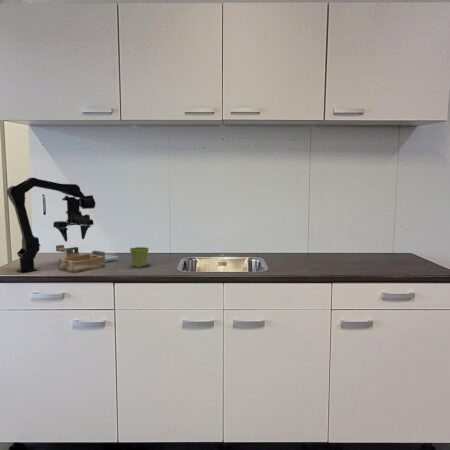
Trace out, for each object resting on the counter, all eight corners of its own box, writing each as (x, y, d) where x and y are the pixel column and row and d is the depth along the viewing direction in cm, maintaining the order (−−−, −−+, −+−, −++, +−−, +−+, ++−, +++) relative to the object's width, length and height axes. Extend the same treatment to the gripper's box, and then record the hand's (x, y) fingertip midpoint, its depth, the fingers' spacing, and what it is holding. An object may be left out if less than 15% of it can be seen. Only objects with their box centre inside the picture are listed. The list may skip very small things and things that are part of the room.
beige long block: (56, 251, 186) (55, 245, 186) (61, 250, 189) (61, 244, 189) (68, 253, 180) (67, 247, 180) (73, 252, 182) (73, 247, 182)
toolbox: (56, 268, 175) (55, 249, 174) (86, 262, 188) (85, 245, 187) (74, 273, 166) (73, 253, 165) (105, 266, 179) (104, 248, 178)
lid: (97, 265, 184) (96, 255, 184) (79, 261, 193) (78, 251, 193) (118, 260, 195) (118, 251, 194) (100, 257, 204) (99, 248, 203)
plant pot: (150, 263, 186) (149, 246, 185) (148, 267, 177) (148, 250, 176) (131, 264, 185) (130, 247, 184) (128, 268, 175) (128, 250, 174)
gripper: (64, 211, 171) (66, 244, 172) (99, 209, 185) (100, 239, 187) (51, 210, 177) (53, 242, 179) (86, 208, 192) (87, 237, 194)
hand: (74, 240), depth 184 cm, fingers open, 9 cm apart
